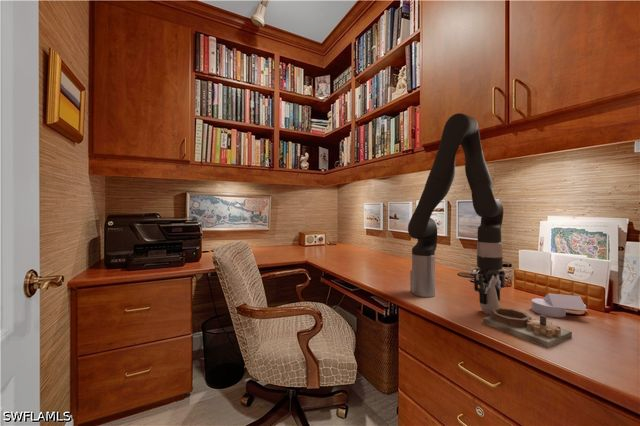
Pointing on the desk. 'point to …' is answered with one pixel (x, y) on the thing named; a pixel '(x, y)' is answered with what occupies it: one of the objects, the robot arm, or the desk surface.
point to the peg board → (527, 326)
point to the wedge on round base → (557, 304)
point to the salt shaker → (491, 299)
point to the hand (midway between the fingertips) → (489, 301)
